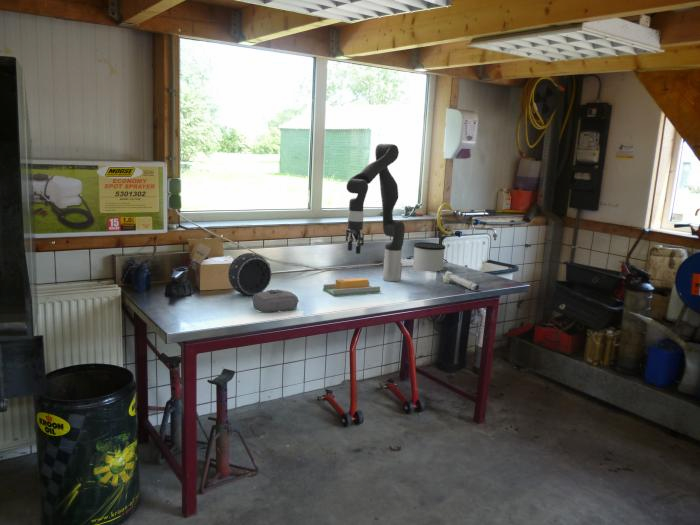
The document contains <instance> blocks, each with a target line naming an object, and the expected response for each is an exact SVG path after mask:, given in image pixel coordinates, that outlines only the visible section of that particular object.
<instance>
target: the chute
mask: <svg viewBox="0 0 700 525" xmlns="http://www.w3.org/2000/svg"><path fill="white" fill-rule="evenodd" d="M368 282H369V283H370V280H369V279H368V278H366V277H358V278H344V279H343V278H337V279H335V283H334V284H335V289H349V288H362V287H368Z"/></svg>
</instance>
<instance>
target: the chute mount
mask: <svg viewBox="0 0 700 525" xmlns="http://www.w3.org/2000/svg"><path fill="white" fill-rule="evenodd" d="M335 284H336V283H325V284H324V283H323V288H322V290H323V291H324V292H325V293H327V294H330V295H332V296H333V297H343V296H344V297H345V296H356V295H355V294H358V295H367V293H370V294H380V293H381V286H378V285H377V286H371V285H370V281H369V282H368V287H362V288H349V289H335ZM379 292H380V293H379Z"/></svg>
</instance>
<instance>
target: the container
mask: <svg viewBox="0 0 700 525" xmlns="http://www.w3.org/2000/svg"><path fill="white" fill-rule="evenodd" d="M413 246H414V252H413V261H412V262H413V264H412V268H414V269H413V270H415V269H417V270H416V271H419V270H421V271H420V272H425V271H440V270H444V258H445V250H446V245H444V244H442V243H437V242H424V241H421V242H419V241H418V242H415V243H414V244H413ZM440 272H441V271H440Z"/></svg>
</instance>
